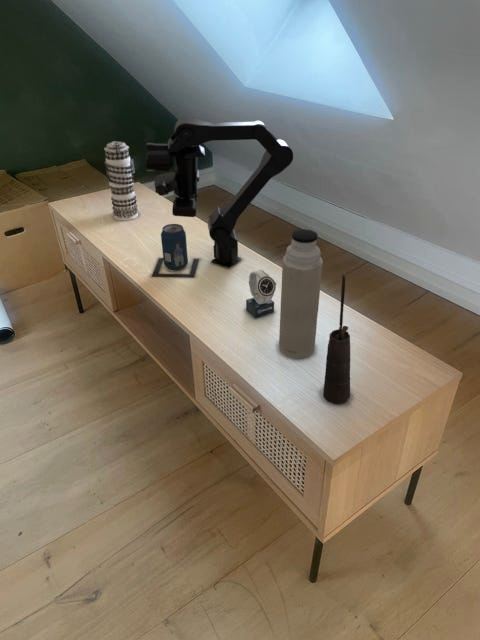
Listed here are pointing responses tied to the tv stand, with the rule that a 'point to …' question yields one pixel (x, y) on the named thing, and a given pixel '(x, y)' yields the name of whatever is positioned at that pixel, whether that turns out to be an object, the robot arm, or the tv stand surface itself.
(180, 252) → the soda can
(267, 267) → the tv stand surface
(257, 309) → the watch
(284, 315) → the thermos bottle
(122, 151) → the white and grey cylinder
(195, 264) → the tape square
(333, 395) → the butter churn
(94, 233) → the tv stand surface
